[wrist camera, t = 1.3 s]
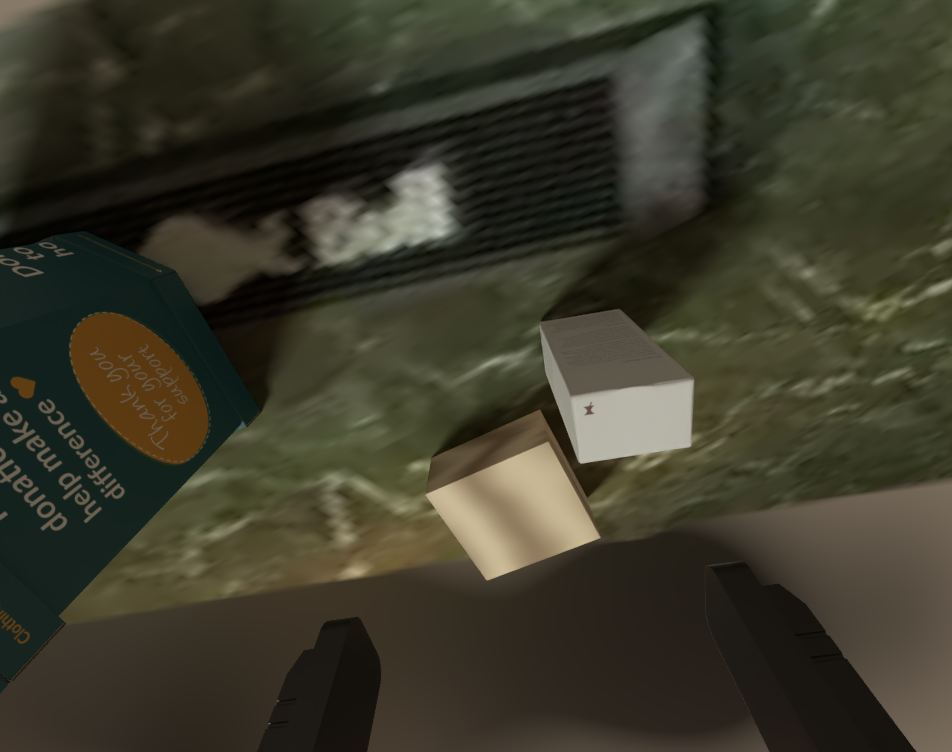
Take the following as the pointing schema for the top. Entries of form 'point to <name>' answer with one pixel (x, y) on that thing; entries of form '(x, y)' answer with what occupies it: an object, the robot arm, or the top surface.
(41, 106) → the top surface
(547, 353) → the skincare box
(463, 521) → the birch block
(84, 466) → the donation box
